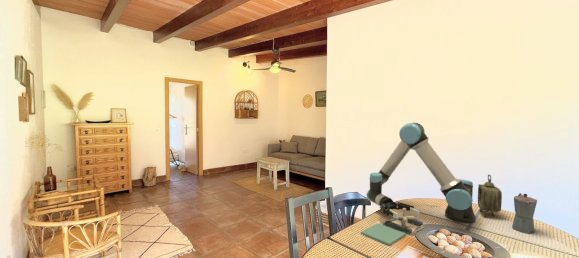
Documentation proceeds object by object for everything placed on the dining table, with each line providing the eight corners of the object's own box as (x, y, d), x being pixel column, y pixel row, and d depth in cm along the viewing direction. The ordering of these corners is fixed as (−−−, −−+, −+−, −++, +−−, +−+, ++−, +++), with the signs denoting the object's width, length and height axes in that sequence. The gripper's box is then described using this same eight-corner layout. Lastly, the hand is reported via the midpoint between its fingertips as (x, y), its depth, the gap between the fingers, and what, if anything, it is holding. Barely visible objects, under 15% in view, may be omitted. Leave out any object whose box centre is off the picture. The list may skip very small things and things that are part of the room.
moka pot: (518, 234, 133) (520, 196, 132) (505, 222, 147) (506, 188, 146) (541, 237, 130) (544, 198, 128) (526, 224, 144) (528, 189, 143)
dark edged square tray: (398, 216, 157) (399, 212, 157) (427, 225, 144) (427, 221, 144) (382, 225, 145) (382, 220, 145) (412, 235, 132) (412, 231, 132)
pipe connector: (416, 231, 138) (416, 212, 137) (396, 229, 140) (396, 211, 139) (411, 223, 148) (411, 205, 147) (392, 221, 150) (393, 204, 149)
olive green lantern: (477, 209, 166) (478, 171, 165) (494, 212, 162) (496, 172, 161) (481, 218, 154) (483, 176, 152) (501, 220, 149) (503, 178, 148)
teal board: (377, 225, 145) (377, 223, 145) (405, 235, 133) (405, 233, 133) (360, 234, 135) (360, 231, 135) (389, 246, 122) (389, 243, 122)
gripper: (401, 205, 164) (427, 219, 143) (366, 209, 158) (388, 224, 137) (401, 194, 163) (427, 206, 143) (366, 197, 157) (388, 210, 137)
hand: (408, 215), depth 140 cm, fingers open, 13 cm apart
